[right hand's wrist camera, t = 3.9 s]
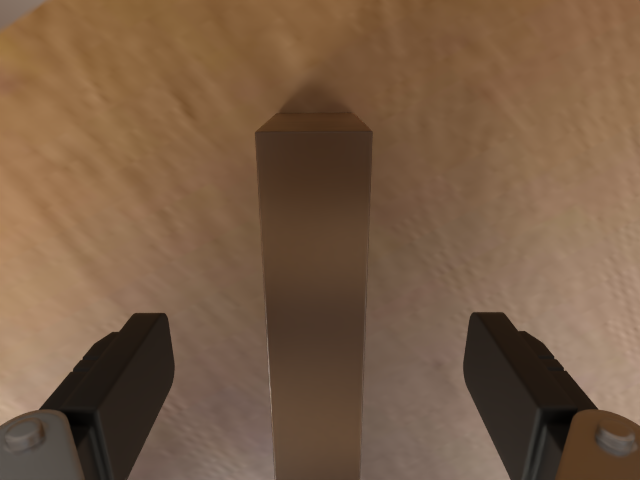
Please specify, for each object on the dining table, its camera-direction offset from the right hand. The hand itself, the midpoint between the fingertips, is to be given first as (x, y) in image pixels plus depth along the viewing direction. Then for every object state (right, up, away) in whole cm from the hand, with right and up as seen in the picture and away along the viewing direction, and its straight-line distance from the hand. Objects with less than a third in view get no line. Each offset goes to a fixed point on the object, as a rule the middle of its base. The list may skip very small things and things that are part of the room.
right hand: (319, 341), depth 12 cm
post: (0, -26, +25) cm, 36 cm away
